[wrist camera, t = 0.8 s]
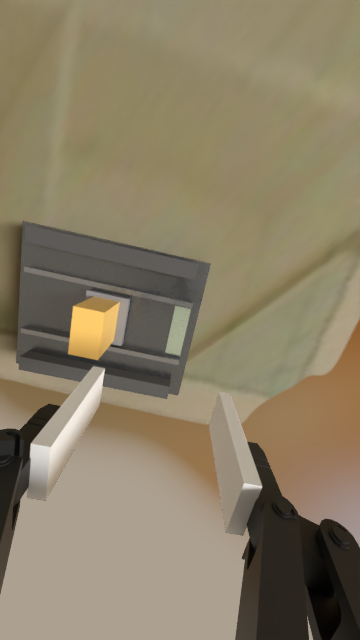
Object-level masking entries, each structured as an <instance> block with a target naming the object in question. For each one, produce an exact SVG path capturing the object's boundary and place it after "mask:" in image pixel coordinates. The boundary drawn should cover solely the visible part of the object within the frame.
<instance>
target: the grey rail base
mask: <svg viewBox="0 0 360 640" xmlns="http://www.w3.org/2000/svg"><path fill="white" fill-rule="evenodd" d="M26 225H30V226H35V227H39V228H44V229H48V230H53V231H57V232H61V233H66V234H70V235H75V236H79V237H83V238H88V239H92V240H97V241H101V242H105V243H110V244H114V245H118V246H123V247H127V248H132V249H136V250H140V251H145V252H149V253H154V254H158V255H162V256H167V257H171V258H176V259H180V260H184V261H189V262H193V263H197V264H199V265H198V269H197V273H196V277H195V280H192V279H188V278H183V277H179V276H174V275H170V274H166V273H161V272H157V271H152V270H148V269H143V268H139V267H134V266H130V265H125V264H121V263H117V262H112V261H108V260H103V259H99V258H94V257H90V256H85V255H81V254H76V253H72V252H68V251H63V250H59V249H54V248H50V247H45V246H41V245H36V244H32V243H27V242H25V232H26ZM209 268H210V263H206V262H201V261H197V260H193V259H188V258H184V257H179V256H175V255H171V254H166V253H162V252H158V251H153V250H149V249H144V248H140V247H136V246H131V245H127V244H123V243H118V242H114V241H109V240H105V239H101V238H96V237H92V236H88V235H83V234H79V233H74V232H70V231H66V230H61V229H57V228H53V227H48V226H44V225H39V224H35V223H30V222H25V221H23V226H22V248H21V270H20V292H19V314H18V336H17V357H16V363H19V356H21V355H23V354H24V353H26V352H27V351H32V352H36V353H41V354H46V355H51V356H56V357H61V358H66V359H71V360H76V361H81V362H86V363H91V364H95V365H100V366H105V367H110V368H115V369H120V370H125V371H130V372H135V373H140V374H145V375H150V376H154V377H159V378H164V379H169V380H170V388H169V392H168V393H169V394H174V395H178V393H179V389H180V385H181V381H182V377H183V373H184V369H185V365H186V361H187V357H188V353H189V349H190V345H191V341H192V337H193V333H194V329H195V325H196V321H197V317H198V313H199V309H200V305H201V301H202V297H203V293H204V288H205V284H206V280H207V276H208V272H209ZM88 289H92V290H97V291H101V292H106V293H111V294H115V295H120V296H124V297H129V298H131V299H130V305H129V311H128V317H127V323H126V329H125V335H124V341H123V344H122V346H118V345H113V344H111V345H110V346H109V347H108V348H107V350H106V351H105V352H104V353H103V355H102V356H101V357H100V358H99V360H94V359H89V358H85V357H80V356H75V355H70V354H68V349H69V340H70V330H71V321H72V312H73V306H74V305H76V304H79V303H81V302H83V301H85V299H86V291H87V290H88Z"/></svg>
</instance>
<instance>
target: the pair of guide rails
mask: <svg viewBox="0 0 360 640" xmlns="http://www.w3.org/2000/svg"><path fill="white" fill-rule="evenodd" d="M25 242H27V243H32V244H36V245H41V246H45V247H50V248H54V249H59V250H63V251H68V252H72V253H76V254H81V255H85V256H90V257H94V258H99V259H103V260H108V261H112V262H117V263H121V264H125V265H130V266H134V267H139V268H143V269H148V270H152V271H157V272H161V273H166V274H170V275H174V276H179V277H183V278H188V279H192V280H195V277H196V273H197V269H198V265H199V264H197V263H193V262H189V261H184V260H180V259H176V258H171V257H167V256H162V255H158V254H154V253H149V252H145V251H140V250H136V249H132V248H127V247H123V246H118V245H114V244H110V243H105V242H101V241H97V240H92V239H88V238H83V237H79V236H75V235H70V234H66V233H61V232H57V231H53V230H48V229H44V228H39V227H35V226H30V225H26V232H25ZM93 366H96V367H101V368H105V372H104V378H103V385H102V386H104V387H109V388H114V389H119V390H124V391H129V392H134V393H139V394H144V395H150V396H155V397H160V398H165V399H167V397H168V392H169V388H170V380H169V379H164V378H159V377H154V376H150V375H145V374H140V373H135V372H130V371H125V370H120V369H115V368H110V367H105V366H100V365H95V364H91V363H86V362H81V361H76V360H71V359H66V358H61V357H56V356H51V355H46V354H41V353H36V352H32V351H27V352H26V353H24V354H23V355H21V356H19V370H24V371H29V372H34V373H39V374H44V375H49V376H54V377H59V378H64V379H69V380H74V381H79V382H81V381H82V379H83V378H84V377H85V376H86V374H87V373H88V372H89V371H90V370H91V368H92V367H93Z"/></svg>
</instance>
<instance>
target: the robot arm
mask: <svg viewBox="0 0 360 640" xmlns="http://www.w3.org/2000/svg"><path fill="white" fill-rule="evenodd" d="M104 372H105V368H101V367H96V366H93V367H92V368H91V370H90V371H89V372H88V373H87V374H86V376H85V377H84V378H83V379H82V381H81V382H80V383H79V384H78V386H77V387H76V388H75V389H74V391H73V392H72V393H71V394H70V396H69V397H68V398H67V399H66V401H65V402H64V403H63V404H62V406H57V405H52V404H48V405H46V406H44V407H42V408H40V409H39V410H38V411H37V412H36V413H35V414H34V415H33V416H32V418H30V420H29V421H28V422H27V424H25V425H24V426H23V427H22V428H21V429H20V430H16V429H3V430H0V593H1V588H2V584H3V579H4V575H5V570H6V566H7V561H8V556H9V552H10V548H11V544H12V539H13V535H14V530H15V526H16V521H17V517H18V512H19V508H20V499H21V497H22V496H23V494H24V492H25V491H26V490H27V488H28V492H27V498H31V499H37V500H43V501H46V499H47V498H48V496H49V494H50V493H51V491H52V489H53V487H54V485H55V484H56V482H57V480H58V478H59V476H60V475H61V472H62V471H63V469H64V467H65V465H66V464H67V462H68V460H69V458H70V457H71V455H72V453H73V451H74V449H75V448H76V446H77V444H78V442H79V440H80V438H81V437H82V435H83V433H84V431H85V430H86V428H87V426H88V424H89V423H90V421H91V419H92V417H93V415H94V414H95V412H96V410H97V408H98V406H99V405H100V398H101V392H102V385H103V378H104ZM209 428H210V435H211V441H212V448H213V454H214V461H215V467H216V473H217V480H218V486H219V492H220V499H221V505H222V511H223V518H224V525H225V531H226V533H231V534H237V535H243V534H244V532H245V529H246V527H247V528H248V532H249V536H250V538H249V541H248V543H247V546H246V548H245V551H244V553H243V556H242V559H245V565H244V574H243V581H242V589H241V597H240V606H239V614H238V622H237V630H236V639H235V640H309V634H308V622H307V616H308V620H309V624H310V628H311V631H312V635H313V640H360V547H359V545H358V544H357V542H356V540H355V539H354V537H353V536H352V535H351V534H350V532H348V530H347V529H346V528H345V527H343V526H342V525H341V524H339V523H338V522H335V521H333V520H330V519H324V520H322V521H321V523H320V525H317V524H315V523H313V522H311V521H309V520H307V519H305V518H303V517H301V516H300V515H298V512H297V511H296V509H295V508H294V506H293V505H292V504H291V503H290V502H289V501H288V500H287V499H286V498H284V497H283V496H282V494H281V492H280V489H279V487H278V484H277V482H276V480H275V477H274V475H273V472H272V470H271V469H270V465H269V463H268V462H267V458H266V456H265V453H264V452H263V450H262V449H261V448H260V446H259V445H258V444H257V443H251V442H247V440H246V438H245V435H244V432H243V429H242V426H241V423H240V420H239V417H238V414H237V411H236V409H235V406H234V403H233V400H232V397H231V394H229V393H224V392H219V394H218V398H217V401H216V404H215V408H214V411H213V414H212V418H211V421H210V424H209Z"/></svg>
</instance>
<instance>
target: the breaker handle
mask: <svg viewBox="0 0 360 640" xmlns="http://www.w3.org/2000/svg"><path fill="white" fill-rule="evenodd" d="M130 299H131V298H129V297H124V296H120V295H115V294H111V293H106V292H101V291H97V290H92V289H88V290H87V291H86V299H85V301H83V302H81V303H79V304H76V305H74V306H73V312H72V321H71V330H70V340H69V349H68V354H70V355H75V356H80V357H85V358H89V359H94V360H99V358H100V357H101V356H102V355H103V353H104V352H105V351H106V350H107V348H108V347H109V346H110V345H111V344H113V345H118V346H122V344H123V341H124V335H125V329H126V323H127V317H128V311H129V305H130Z"/></svg>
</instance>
